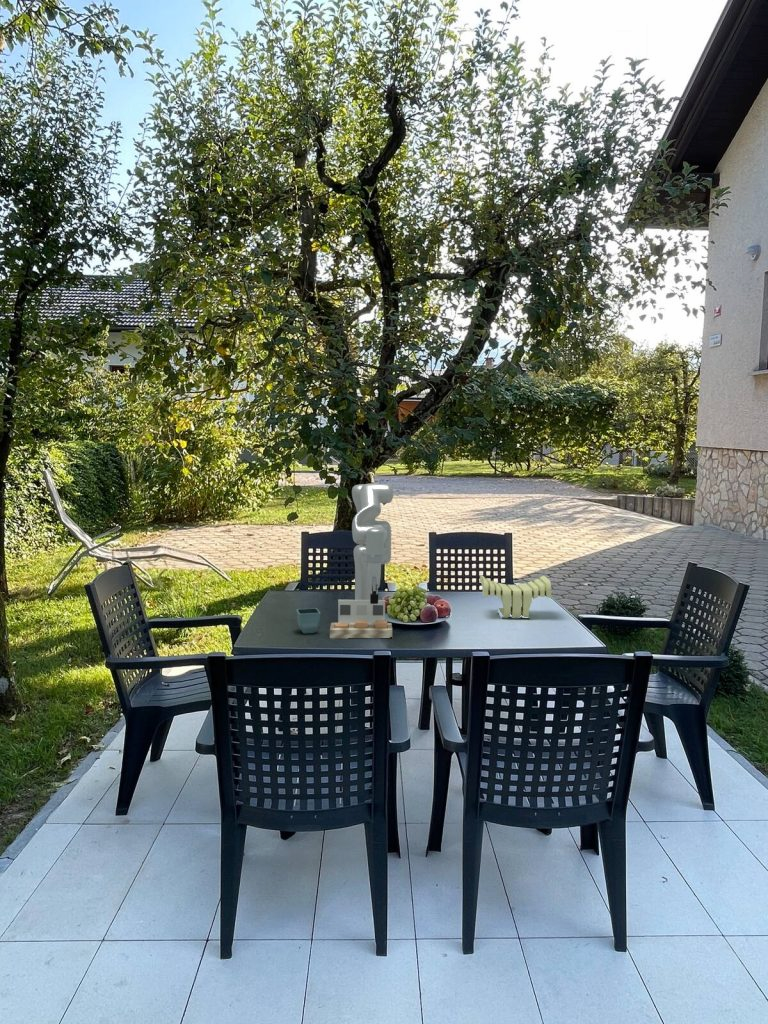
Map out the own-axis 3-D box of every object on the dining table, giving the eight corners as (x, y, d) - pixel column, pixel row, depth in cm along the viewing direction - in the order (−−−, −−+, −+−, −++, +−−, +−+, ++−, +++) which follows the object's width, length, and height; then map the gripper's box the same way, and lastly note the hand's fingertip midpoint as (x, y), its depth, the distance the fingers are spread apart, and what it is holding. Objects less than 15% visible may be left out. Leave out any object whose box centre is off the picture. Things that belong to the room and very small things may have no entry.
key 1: (335, 634, 293) (335, 625, 292) (335, 631, 298) (335, 623, 297) (347, 634, 293) (347, 626, 292) (347, 631, 298) (347, 623, 297)
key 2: (374, 631, 293) (375, 623, 293) (374, 628, 298) (374, 620, 298) (387, 631, 293) (387, 623, 293) (386, 628, 298) (387, 620, 298)
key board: (329, 638, 289) (329, 629, 289) (331, 630, 301) (331, 622, 301) (392, 638, 290) (392, 630, 289) (391, 631, 302) (391, 623, 301)
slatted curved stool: (483, 619, 325) (484, 580, 324) (478, 611, 341) (479, 574, 340) (550, 620, 325) (551, 581, 323) (542, 612, 341) (543, 575, 339)
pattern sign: (337, 627, 308) (338, 601, 307) (338, 624, 313) (338, 598, 312) (384, 627, 308) (385, 601, 307) (384, 624, 313) (384, 599, 312)
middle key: (355, 631, 293) (355, 622, 292) (355, 628, 298) (355, 620, 297) (367, 631, 293) (367, 623, 292) (367, 628, 298) (367, 620, 297)
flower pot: (299, 635, 293) (299, 613, 292) (295, 630, 301) (296, 609, 301) (320, 634, 295) (320, 612, 295) (316, 629, 304) (316, 608, 303)
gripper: (366, 555, 300) (365, 599, 302) (365, 561, 285) (364, 607, 287) (384, 556, 300) (383, 599, 302) (384, 561, 285) (383, 607, 287)
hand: (374, 603), depth 294 cm, fingers closed
